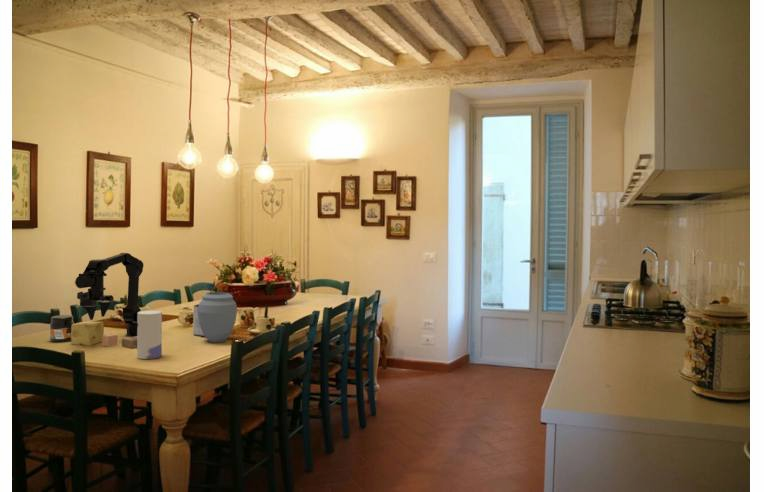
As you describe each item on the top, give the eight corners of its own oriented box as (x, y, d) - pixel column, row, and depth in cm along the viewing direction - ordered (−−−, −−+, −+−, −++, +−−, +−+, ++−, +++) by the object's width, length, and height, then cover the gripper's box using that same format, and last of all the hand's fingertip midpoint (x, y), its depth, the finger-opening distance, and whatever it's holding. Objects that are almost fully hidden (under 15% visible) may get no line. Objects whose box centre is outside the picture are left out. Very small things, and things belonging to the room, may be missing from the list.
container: (141, 354, 257) (141, 310, 256) (164, 354, 258) (164, 310, 257) (133, 359, 247) (134, 313, 246) (157, 359, 248) (157, 313, 247)
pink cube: (111, 343, 277) (111, 333, 277) (117, 345, 275) (117, 334, 274) (101, 345, 273) (101, 335, 273) (107, 346, 271) (107, 336, 270)
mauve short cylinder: (137, 344, 278) (137, 335, 278) (146, 346, 274) (146, 338, 274) (121, 346, 272) (121, 338, 272) (131, 349, 267) (131, 340, 267)
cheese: (89, 345, 272) (89, 325, 272) (69, 344, 274) (69, 323, 274) (104, 341, 282) (104, 321, 282) (85, 340, 284) (85, 320, 284)
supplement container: (57, 343, 275) (57, 319, 274) (45, 341, 280) (45, 316, 280) (78, 340, 284) (78, 316, 283) (67, 337, 289) (67, 314, 289)
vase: (244, 339, 295) (245, 292, 294) (222, 346, 276) (222, 296, 275) (212, 336, 301) (213, 290, 300) (188, 342, 283) (189, 294, 282)
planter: (186, 335, 302) (186, 306, 301) (206, 330, 317) (206, 302, 316) (210, 338, 296) (211, 308, 295) (230, 332, 311) (230, 304, 310)
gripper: (92, 283, 284) (93, 314, 284) (68, 287, 265) (69, 321, 266) (114, 284, 282) (114, 315, 283) (91, 288, 264) (91, 321, 265)
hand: (97, 318), depth 274 cm, fingers open, 9 cm apart
